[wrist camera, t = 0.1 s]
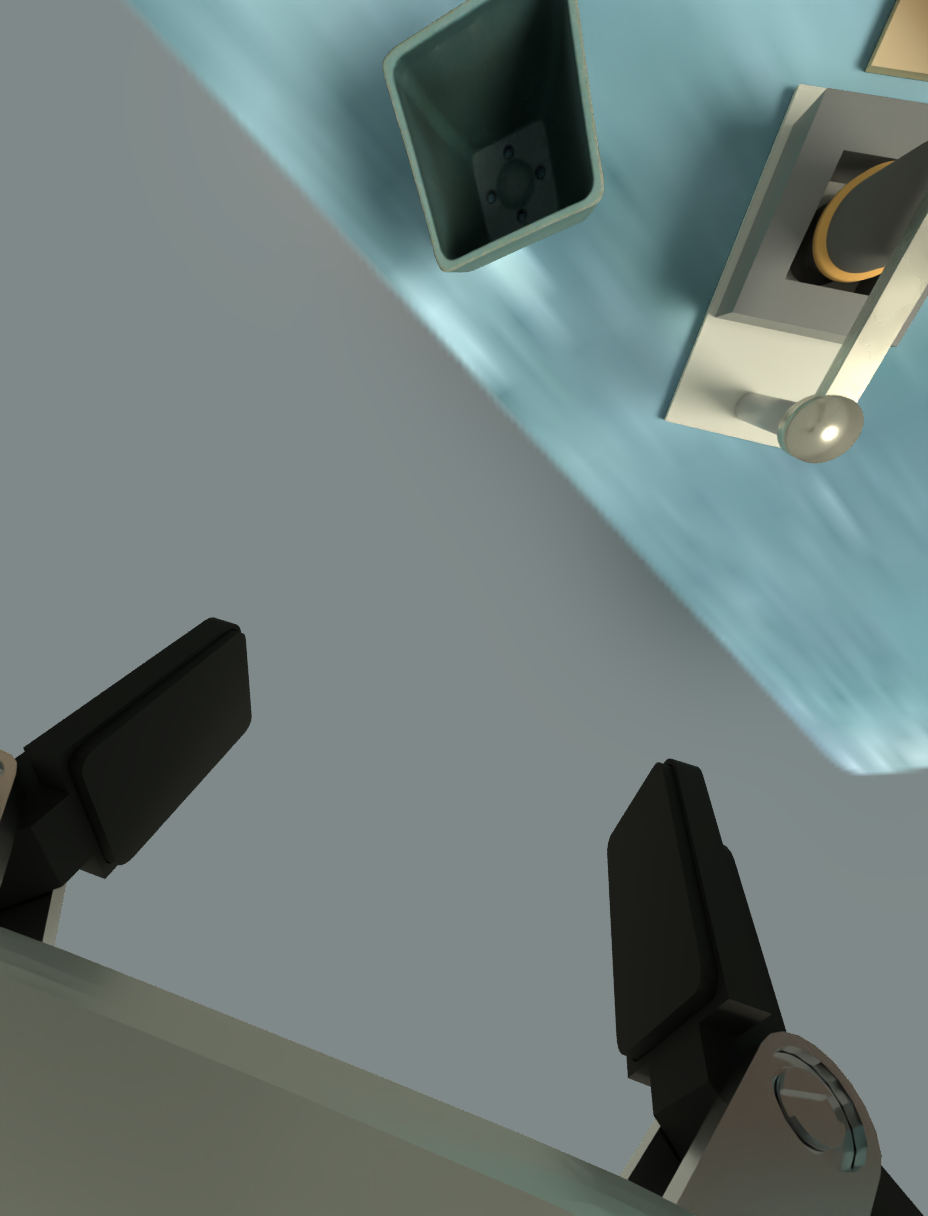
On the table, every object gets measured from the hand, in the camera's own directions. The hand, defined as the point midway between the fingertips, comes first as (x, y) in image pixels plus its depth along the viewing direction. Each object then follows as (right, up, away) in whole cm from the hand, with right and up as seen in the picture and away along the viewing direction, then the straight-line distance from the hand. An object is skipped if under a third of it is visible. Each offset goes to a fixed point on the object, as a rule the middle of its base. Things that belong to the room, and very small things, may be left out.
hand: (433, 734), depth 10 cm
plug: (+22, +24, +16) cm, 37 cm away
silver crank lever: (+19, +16, +10) cm, 27 cm away
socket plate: (+22, +22, +18) cm, 36 cm away
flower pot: (+4, +30, +19) cm, 36 cm away
